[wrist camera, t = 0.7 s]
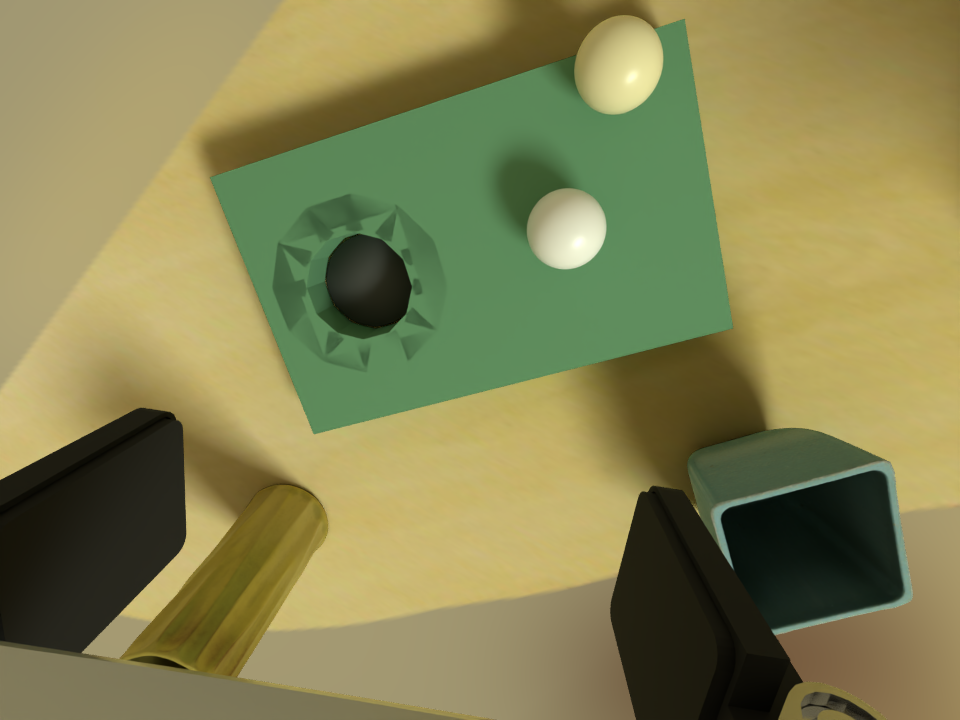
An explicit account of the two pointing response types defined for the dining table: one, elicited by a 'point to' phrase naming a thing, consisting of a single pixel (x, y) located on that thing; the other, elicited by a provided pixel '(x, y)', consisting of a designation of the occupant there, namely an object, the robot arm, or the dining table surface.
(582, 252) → the white ball
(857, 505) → the flower pot
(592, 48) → the yellow ball
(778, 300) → the dining table surface
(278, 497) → the vase
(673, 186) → the putting mat
